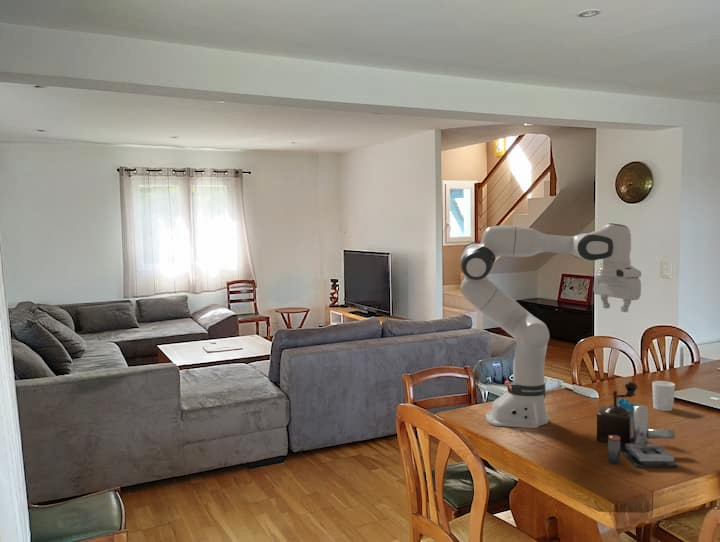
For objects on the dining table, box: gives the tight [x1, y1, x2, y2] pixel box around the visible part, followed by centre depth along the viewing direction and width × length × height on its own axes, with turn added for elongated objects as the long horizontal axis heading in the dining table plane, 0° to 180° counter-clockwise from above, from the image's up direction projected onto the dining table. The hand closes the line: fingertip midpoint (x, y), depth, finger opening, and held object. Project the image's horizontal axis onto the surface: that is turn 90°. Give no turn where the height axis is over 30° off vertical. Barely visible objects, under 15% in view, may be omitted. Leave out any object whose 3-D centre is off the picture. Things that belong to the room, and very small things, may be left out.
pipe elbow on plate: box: [620, 404, 678, 469], centre depth 184 cm, size 16×16×15 cm
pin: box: [607, 435, 621, 465], centre depth 181 cm, size 3×3×8 cm
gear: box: [617, 397, 634, 423], centre depth 220 cm, size 11×6×10 cm
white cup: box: [651, 380, 676, 412], centre depth 232 cm, size 8×8×10 cm
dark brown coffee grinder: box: [596, 381, 638, 445], centre depth 203 cm, size 16×11×18 cm
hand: (615, 310), depth 208 cm, fingers open, 8 cm apart
